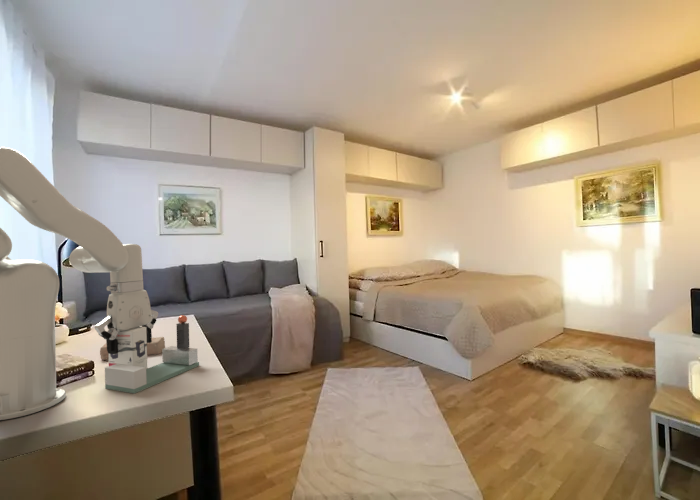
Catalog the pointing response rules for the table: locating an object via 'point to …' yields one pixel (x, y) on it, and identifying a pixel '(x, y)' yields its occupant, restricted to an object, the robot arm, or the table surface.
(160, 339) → the brick
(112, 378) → the vise
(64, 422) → the table surface
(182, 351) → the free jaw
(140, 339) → the ink box
